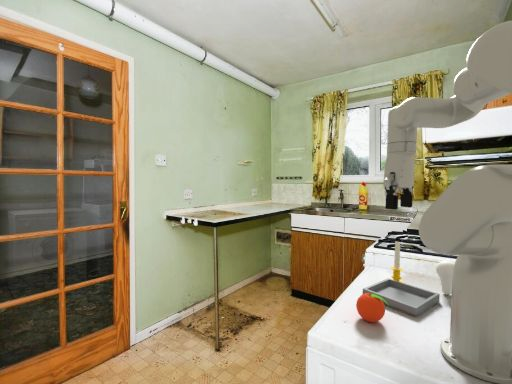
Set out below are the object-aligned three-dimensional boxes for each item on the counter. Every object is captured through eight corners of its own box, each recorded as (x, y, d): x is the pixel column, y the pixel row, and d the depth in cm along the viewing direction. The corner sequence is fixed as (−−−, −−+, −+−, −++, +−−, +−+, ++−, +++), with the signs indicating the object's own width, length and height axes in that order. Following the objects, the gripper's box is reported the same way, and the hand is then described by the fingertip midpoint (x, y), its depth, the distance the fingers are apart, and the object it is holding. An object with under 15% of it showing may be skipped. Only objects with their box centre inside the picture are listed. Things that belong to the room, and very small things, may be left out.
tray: (439, 302, 79) (439, 294, 79) (415, 317, 70) (416, 308, 70) (388, 285, 92) (388, 278, 92) (362, 296, 83) (362, 288, 82)
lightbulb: (450, 291, 87) (451, 258, 87) (463, 299, 81) (464, 264, 81) (431, 290, 88) (432, 257, 87) (442, 298, 82) (443, 263, 81)
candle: (403, 282, 95) (405, 239, 94) (405, 287, 90) (406, 242, 89) (387, 279, 97) (389, 238, 96) (388, 284, 92) (389, 241, 92)
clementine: (390, 319, 69) (391, 292, 69) (387, 332, 63) (388, 303, 63) (358, 311, 73) (359, 286, 73) (353, 322, 67) (353, 295, 67)
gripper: (400, 152, 85) (398, 205, 86) (373, 148, 74) (372, 208, 75) (426, 151, 79) (424, 207, 80) (402, 146, 68) (399, 211, 69)
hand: (399, 208), depth 77 cm, fingers open, 9 cm apart
